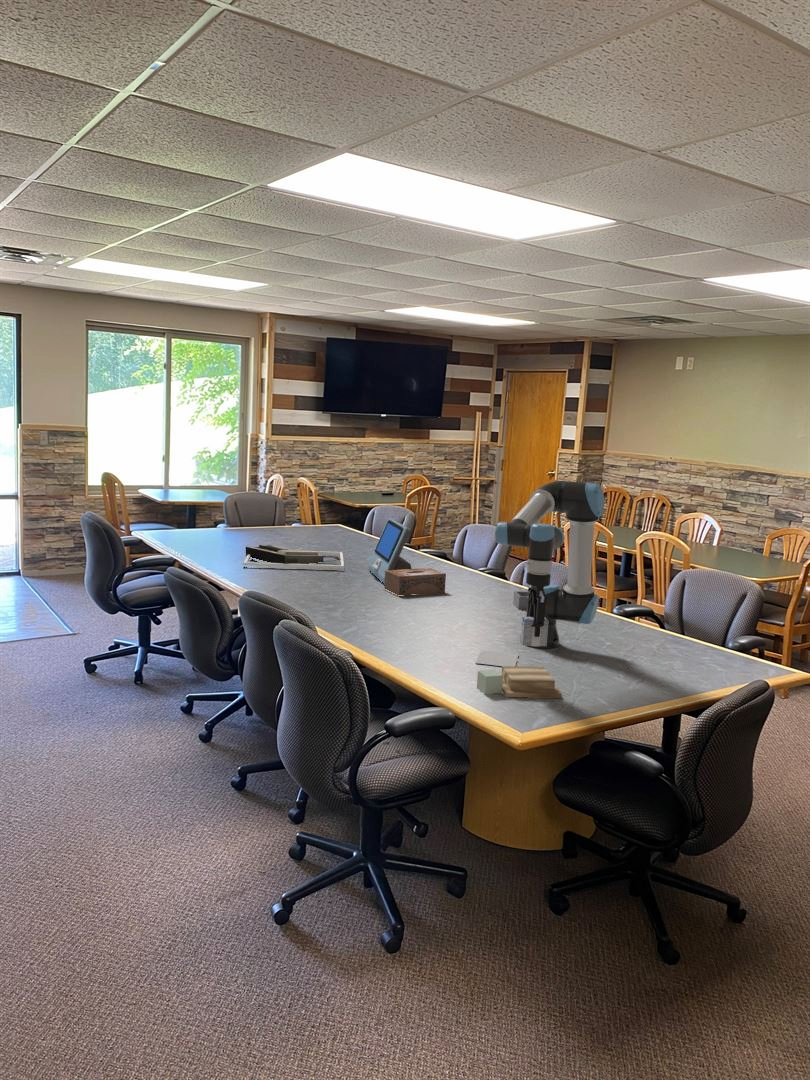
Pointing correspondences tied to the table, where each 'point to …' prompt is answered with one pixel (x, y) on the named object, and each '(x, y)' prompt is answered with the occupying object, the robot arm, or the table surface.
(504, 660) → the paper stack
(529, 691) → the pedestal
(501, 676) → the green block
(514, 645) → the table surface
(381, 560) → the touchscreen device
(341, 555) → the document tray rim
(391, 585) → the tissue box cover
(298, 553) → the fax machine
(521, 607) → the desk organizer
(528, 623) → the medicine box
